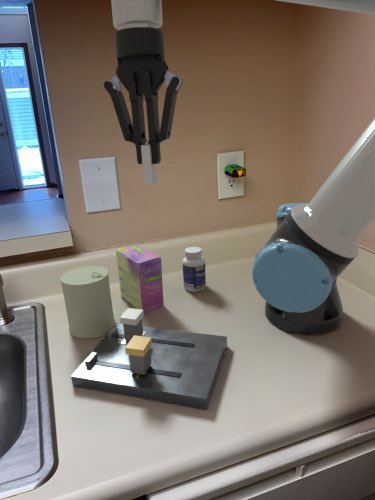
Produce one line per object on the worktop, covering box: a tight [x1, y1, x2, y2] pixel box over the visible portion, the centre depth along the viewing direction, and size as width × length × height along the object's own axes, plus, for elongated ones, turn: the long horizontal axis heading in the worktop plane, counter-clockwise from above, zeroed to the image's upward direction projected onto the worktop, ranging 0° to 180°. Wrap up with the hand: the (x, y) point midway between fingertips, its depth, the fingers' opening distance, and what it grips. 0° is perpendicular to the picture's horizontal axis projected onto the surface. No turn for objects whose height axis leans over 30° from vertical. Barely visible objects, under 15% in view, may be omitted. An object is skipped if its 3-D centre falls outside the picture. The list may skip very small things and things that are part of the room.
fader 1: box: [119, 307, 145, 341], centre depth 69 cm, size 3×3×5 cm
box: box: [115, 244, 165, 314], centre depth 85 cm, size 10×6×12 cm, turn 35°
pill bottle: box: [181, 246, 207, 293], centre depth 91 cm, size 5×5×10 cm
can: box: [59, 265, 116, 340], centre depth 76 cm, size 9×9×12 cm
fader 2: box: [125, 335, 152, 375], centre depth 60 cm, size 3×3×5 cm
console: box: [70, 322, 228, 411], centre depth 65 cm, size 22×16×3 cm
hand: (150, 182), depth 67 cm, fingers closed
